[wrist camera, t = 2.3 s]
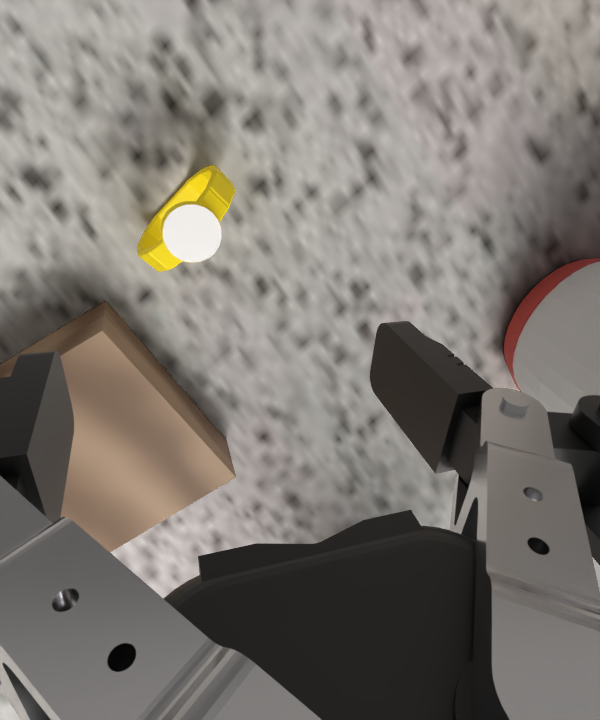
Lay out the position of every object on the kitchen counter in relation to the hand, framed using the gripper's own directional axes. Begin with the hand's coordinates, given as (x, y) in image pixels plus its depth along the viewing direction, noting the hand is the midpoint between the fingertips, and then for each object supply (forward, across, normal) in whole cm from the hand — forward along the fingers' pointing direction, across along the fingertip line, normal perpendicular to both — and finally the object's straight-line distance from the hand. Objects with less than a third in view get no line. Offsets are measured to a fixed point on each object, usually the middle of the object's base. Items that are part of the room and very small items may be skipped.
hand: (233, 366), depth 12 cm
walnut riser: (+18, +9, +16) cm, 25 cm away
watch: (+18, 0, 0) cm, 18 cm away
